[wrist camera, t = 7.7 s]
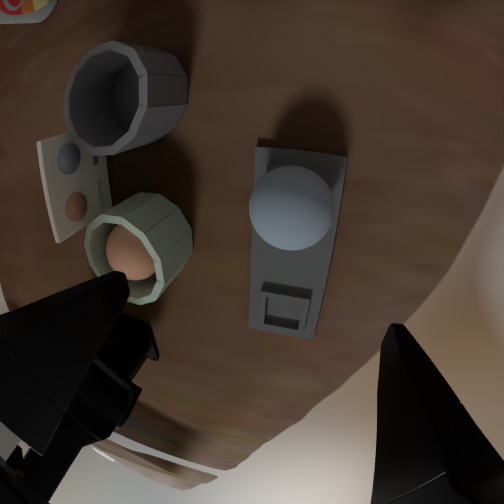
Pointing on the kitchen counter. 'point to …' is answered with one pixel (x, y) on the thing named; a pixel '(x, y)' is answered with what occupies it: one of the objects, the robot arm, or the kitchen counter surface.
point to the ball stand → (292, 254)
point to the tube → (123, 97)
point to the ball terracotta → (129, 254)
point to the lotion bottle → (25, 10)
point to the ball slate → (291, 207)
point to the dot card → (72, 185)
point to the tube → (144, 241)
